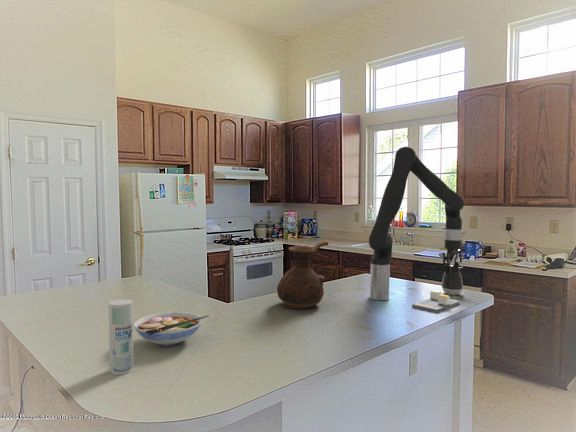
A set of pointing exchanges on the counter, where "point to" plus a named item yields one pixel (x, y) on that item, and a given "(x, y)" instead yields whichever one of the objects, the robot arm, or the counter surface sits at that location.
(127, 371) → the spray can
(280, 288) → the jug
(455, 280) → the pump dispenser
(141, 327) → the ramen bowl
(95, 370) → the counter surface
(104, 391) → the counter surface
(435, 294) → the on breaker
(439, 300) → the block
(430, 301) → the switch panel
